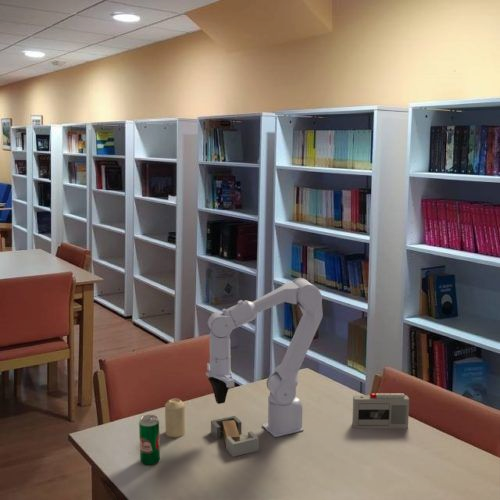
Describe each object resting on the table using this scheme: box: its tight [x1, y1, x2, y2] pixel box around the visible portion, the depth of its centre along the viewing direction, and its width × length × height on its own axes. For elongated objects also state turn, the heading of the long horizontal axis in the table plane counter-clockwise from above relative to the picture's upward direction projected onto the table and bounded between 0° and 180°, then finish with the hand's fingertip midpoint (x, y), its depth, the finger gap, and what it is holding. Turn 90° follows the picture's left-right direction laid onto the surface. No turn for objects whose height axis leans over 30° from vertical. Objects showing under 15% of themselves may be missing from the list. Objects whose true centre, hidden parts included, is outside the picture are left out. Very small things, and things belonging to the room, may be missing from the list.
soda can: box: [138, 414, 161, 467], centre depth 155 cm, size 5×5×12 cm
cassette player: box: [351, 392, 410, 429], centre depth 175 cm, size 16×3×10 cm, turn 90°
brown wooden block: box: [221, 420, 241, 444], centre depth 168 cm, size 4×10×4 cm, turn 10°
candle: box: [164, 397, 186, 438], centre depth 171 cm, size 6×6×10 cm
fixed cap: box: [210, 415, 243, 440], centre depth 171 cm, size 8×4×4 cm, turn 116°
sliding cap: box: [225, 431, 260, 458], centre depth 162 cm, size 8×4×4 cm, turn 116°
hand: (220, 402), depth 168 cm, fingers closed
